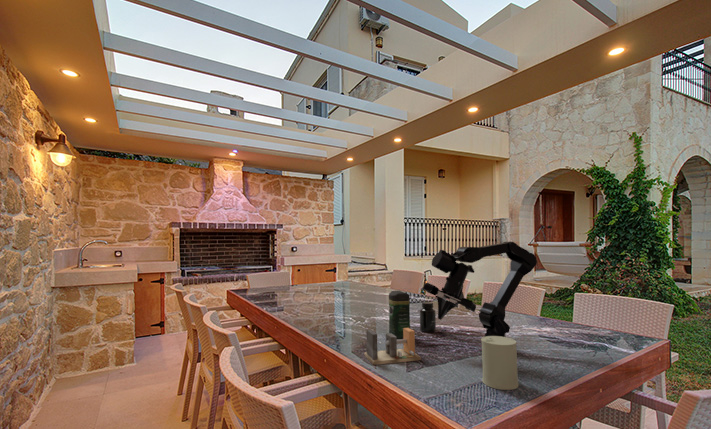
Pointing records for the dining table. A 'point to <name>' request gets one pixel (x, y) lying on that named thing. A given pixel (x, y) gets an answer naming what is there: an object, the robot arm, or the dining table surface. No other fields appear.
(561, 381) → the dining table surface
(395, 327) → the coffee jar
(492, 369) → the can
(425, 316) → the supplement bottle
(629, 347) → the dining table surface
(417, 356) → the wooden base with posts
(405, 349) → the plunger
